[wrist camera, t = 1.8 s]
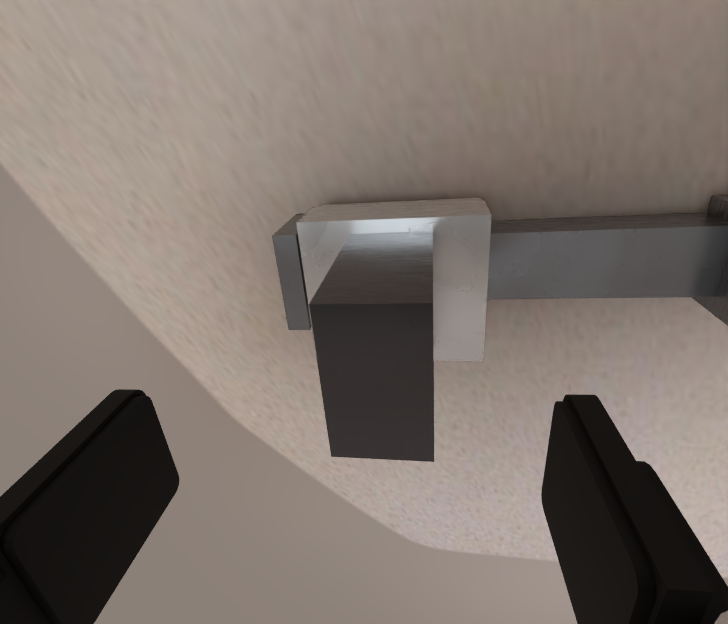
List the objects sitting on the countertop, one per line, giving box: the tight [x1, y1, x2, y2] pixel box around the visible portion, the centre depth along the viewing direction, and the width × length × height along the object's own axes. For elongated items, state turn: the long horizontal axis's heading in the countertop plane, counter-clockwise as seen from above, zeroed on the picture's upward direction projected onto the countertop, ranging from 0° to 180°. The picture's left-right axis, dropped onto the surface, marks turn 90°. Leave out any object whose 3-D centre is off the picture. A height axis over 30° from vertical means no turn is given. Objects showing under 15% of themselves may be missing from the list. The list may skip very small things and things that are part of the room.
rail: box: [272, 195, 728, 330], centre depth 19 cm, size 19×4×4 cm, turn 95°
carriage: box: [296, 198, 491, 462], centre depth 16 cm, size 7×6×10 cm
